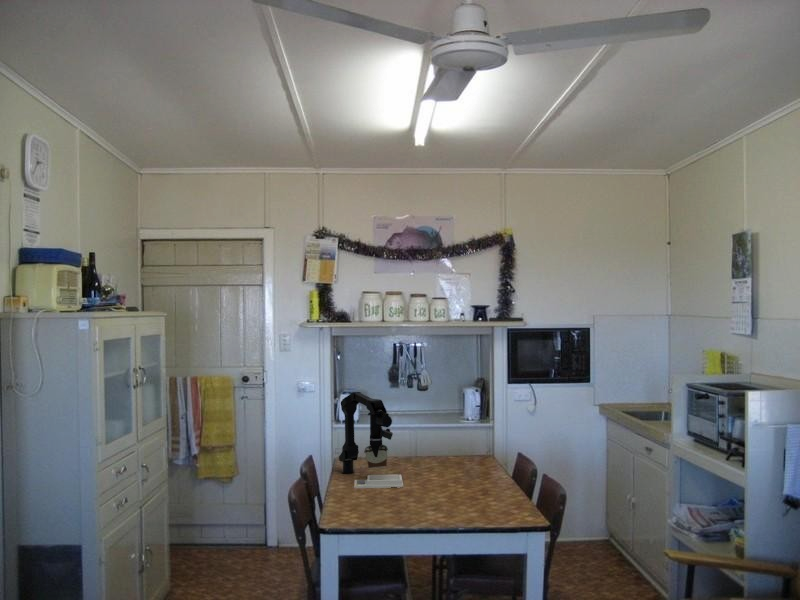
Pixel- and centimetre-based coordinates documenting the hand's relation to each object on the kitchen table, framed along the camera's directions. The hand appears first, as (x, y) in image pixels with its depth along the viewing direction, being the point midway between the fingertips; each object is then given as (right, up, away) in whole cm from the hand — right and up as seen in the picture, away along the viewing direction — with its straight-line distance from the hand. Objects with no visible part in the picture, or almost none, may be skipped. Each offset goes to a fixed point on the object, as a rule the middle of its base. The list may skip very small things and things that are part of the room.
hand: (376, 456), depth 325 cm
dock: (+1, -13, -4) cm, 14 cm away
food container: (+1, -5, +1) cm, 5 cm away
